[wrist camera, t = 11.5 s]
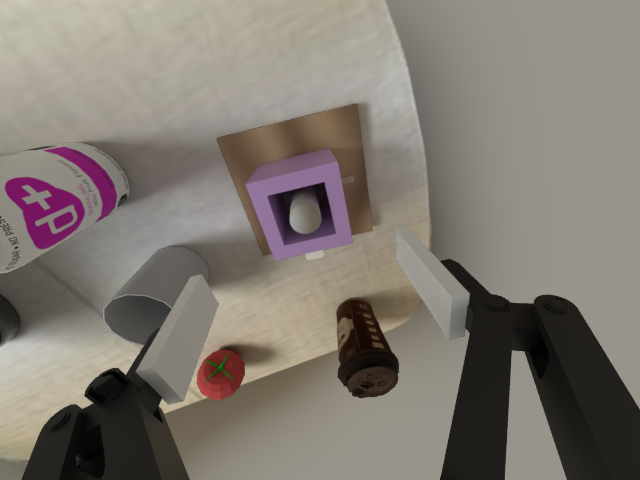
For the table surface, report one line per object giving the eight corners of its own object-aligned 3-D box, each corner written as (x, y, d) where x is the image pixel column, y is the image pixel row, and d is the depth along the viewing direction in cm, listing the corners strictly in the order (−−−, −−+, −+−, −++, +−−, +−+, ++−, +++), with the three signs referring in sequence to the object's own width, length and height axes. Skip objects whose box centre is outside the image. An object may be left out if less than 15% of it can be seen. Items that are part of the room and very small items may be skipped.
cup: (221, 276, 38) (198, 328, 29) (181, 299, 40) (148, 355, 31) (179, 236, 34) (138, 282, 25) (136, 263, 36) (85, 315, 27)
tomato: (217, 417, 42) (214, 401, 37) (189, 384, 44) (183, 366, 40) (253, 378, 47) (254, 360, 42) (227, 351, 50) (225, 331, 45)
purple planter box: (259, 165, 29) (245, 184, 22) (329, 147, 29) (337, 161, 22) (283, 235, 34) (278, 269, 27) (344, 221, 33) (354, 252, 26)
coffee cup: (331, 330, 46) (342, 405, 35) (325, 297, 42) (336, 370, 30) (377, 323, 46) (403, 396, 35) (376, 289, 42) (405, 359, 30)
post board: (264, 251, 36) (253, 299, 27) (219, 137, 28) (183, 153, 20) (370, 226, 36) (394, 268, 27) (354, 103, 28) (381, 104, 19)
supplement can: (124, 146, 28) (-26, 185, 15) (138, 213, 32) (29, 289, 19) (43, 136, 27) (-195, 168, 14) (68, 206, 31) (-99, 282, 18)
